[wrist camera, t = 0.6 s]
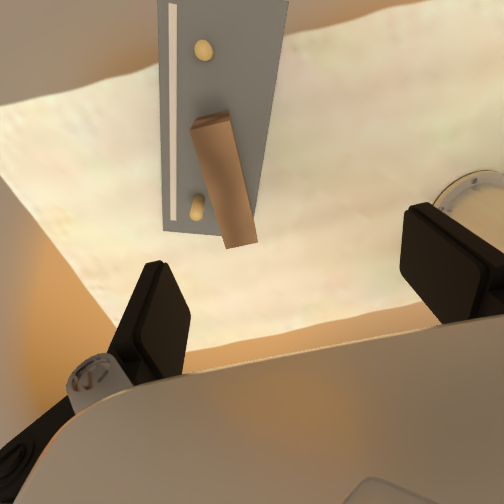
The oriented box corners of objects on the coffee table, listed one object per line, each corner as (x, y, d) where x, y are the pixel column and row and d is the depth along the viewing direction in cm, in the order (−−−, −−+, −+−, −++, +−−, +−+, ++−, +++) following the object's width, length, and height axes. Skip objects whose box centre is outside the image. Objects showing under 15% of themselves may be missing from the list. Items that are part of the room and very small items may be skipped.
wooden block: (229, 110, 34) (229, 120, 27) (252, 214, 42) (257, 242, 35) (196, 118, 34) (188, 130, 28) (225, 220, 42) (225, 249, 35)
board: (286, 3, 30) (299, -10, 25) (249, 234, 45) (252, 256, 40) (159, -23, 28) (144, -44, 23) (164, 227, 43) (156, 249, 38)
